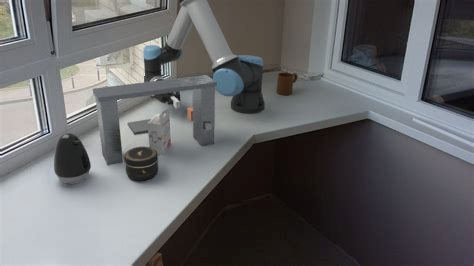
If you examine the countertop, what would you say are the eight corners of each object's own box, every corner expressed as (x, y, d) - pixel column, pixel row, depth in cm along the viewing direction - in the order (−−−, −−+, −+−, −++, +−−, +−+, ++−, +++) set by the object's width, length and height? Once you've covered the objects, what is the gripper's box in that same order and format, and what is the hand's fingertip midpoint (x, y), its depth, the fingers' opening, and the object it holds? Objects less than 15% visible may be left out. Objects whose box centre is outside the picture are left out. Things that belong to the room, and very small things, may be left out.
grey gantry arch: (100, 154, 140) (92, 88, 130) (206, 134, 157) (206, 74, 147) (106, 166, 133) (98, 97, 123) (216, 144, 150) (216, 82, 140)
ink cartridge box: (158, 143, 149) (156, 105, 143) (171, 144, 148) (169, 106, 142) (148, 154, 141) (146, 114, 135) (162, 155, 140) (160, 115, 134)
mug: (290, 88, 210) (291, 70, 206) (301, 92, 205) (303, 73, 201) (273, 92, 203) (274, 74, 199) (284, 96, 198) (285, 78, 194)
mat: (127, 125, 163) (127, 122, 162) (152, 120, 167) (152, 118, 167) (134, 134, 155) (134, 132, 154) (160, 130, 159) (160, 127, 159)
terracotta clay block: (187, 117, 156) (187, 107, 154) (197, 116, 157) (197, 106, 156) (204, 133, 143) (204, 123, 142) (214, 131, 145) (214, 121, 143)
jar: (129, 186, 123) (126, 163, 120) (123, 170, 131) (121, 148, 128) (162, 179, 127) (160, 157, 123) (154, 164, 135) (153, 143, 132)
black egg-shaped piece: (72, 192, 119) (64, 145, 112) (49, 181, 124) (40, 135, 117) (100, 177, 127) (94, 132, 120) (77, 167, 132) (70, 123, 125)
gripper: (174, 93, 185) (193, 111, 166) (145, 97, 179) (162, 116, 160) (173, 77, 181) (193, 93, 162) (144, 80, 176) (161, 98, 157)
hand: (178, 105), depth 161 cm, fingers closed
